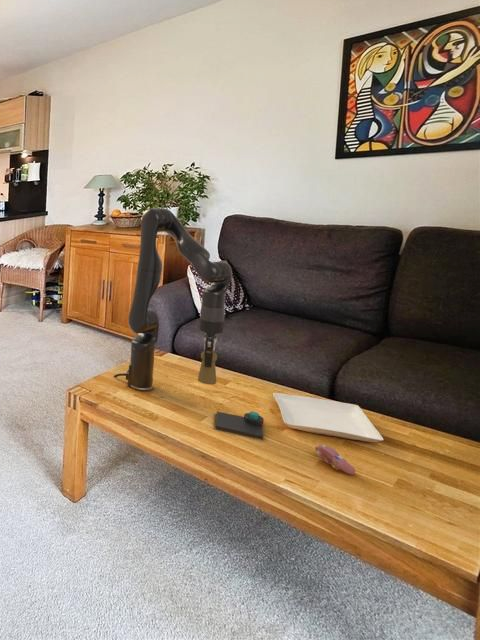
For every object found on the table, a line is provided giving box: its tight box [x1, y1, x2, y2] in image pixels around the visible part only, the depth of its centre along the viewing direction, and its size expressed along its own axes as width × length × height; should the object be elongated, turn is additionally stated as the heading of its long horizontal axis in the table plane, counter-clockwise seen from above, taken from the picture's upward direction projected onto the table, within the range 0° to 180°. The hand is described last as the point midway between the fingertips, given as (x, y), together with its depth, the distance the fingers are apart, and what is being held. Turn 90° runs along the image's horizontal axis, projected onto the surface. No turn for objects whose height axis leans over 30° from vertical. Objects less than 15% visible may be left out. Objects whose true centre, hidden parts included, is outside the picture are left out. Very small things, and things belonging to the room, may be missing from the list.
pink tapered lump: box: [314, 443, 356, 475], centre depth 143 cm, size 10×5×7 cm, turn 5°
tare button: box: [248, 411, 260, 420], centre depth 167 cm, size 3×3×2 cm
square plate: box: [272, 392, 384, 443], centre depth 169 cm, size 27×27×4 cm
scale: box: [215, 411, 265, 441], centre depth 167 cm, size 14×13×3 cm
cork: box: [197, 350, 218, 385], centre depth 169 cm, size 6×6×11 cm
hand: (208, 363), depth 169 cm, fingers closed on cork, 5 cm apart
